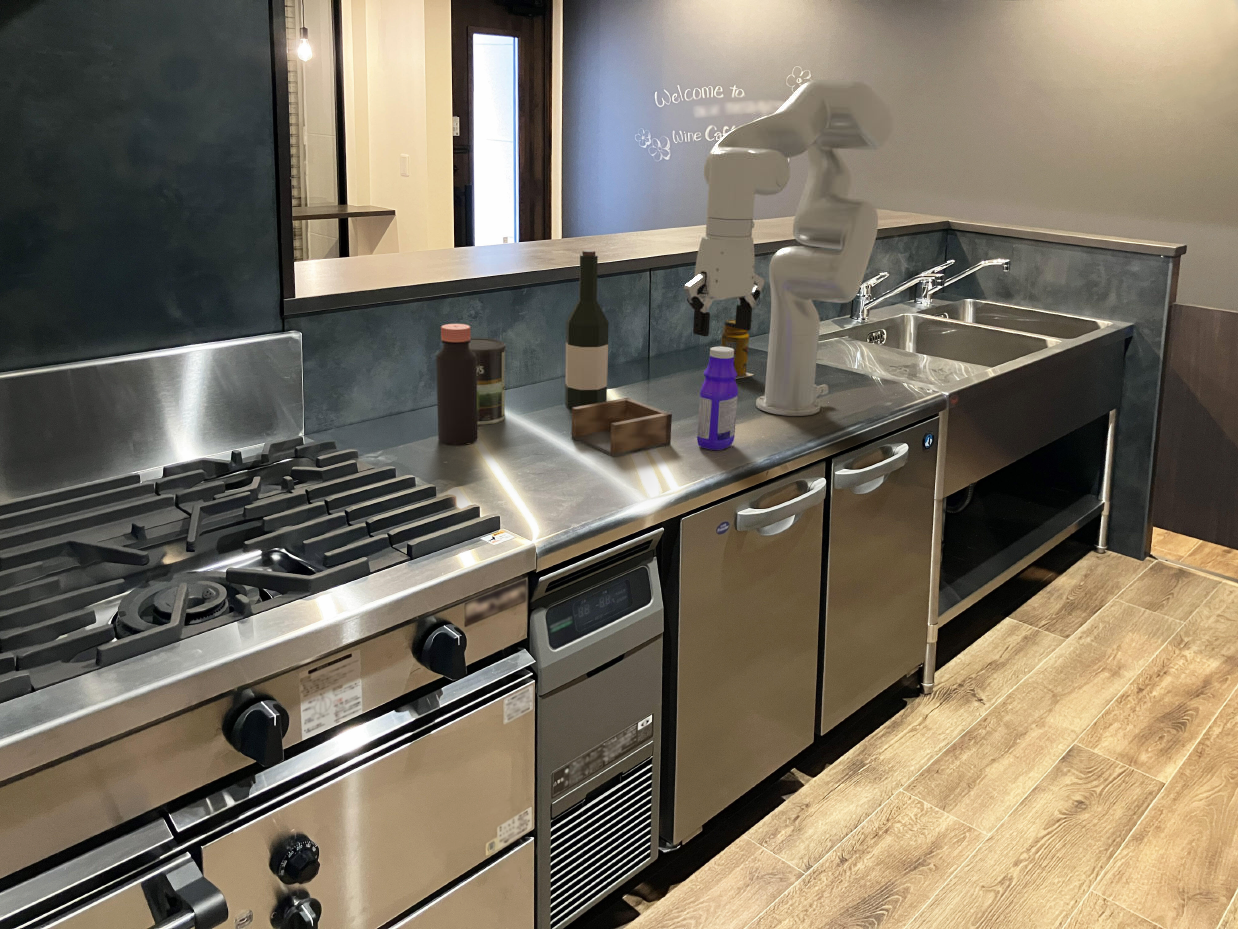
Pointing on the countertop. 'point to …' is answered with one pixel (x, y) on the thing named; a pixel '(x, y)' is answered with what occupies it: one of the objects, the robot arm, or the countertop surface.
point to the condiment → (737, 346)
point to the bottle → (718, 401)
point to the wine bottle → (586, 341)
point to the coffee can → (490, 379)
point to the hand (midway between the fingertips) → (722, 332)
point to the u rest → (621, 426)
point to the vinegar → (456, 387)
